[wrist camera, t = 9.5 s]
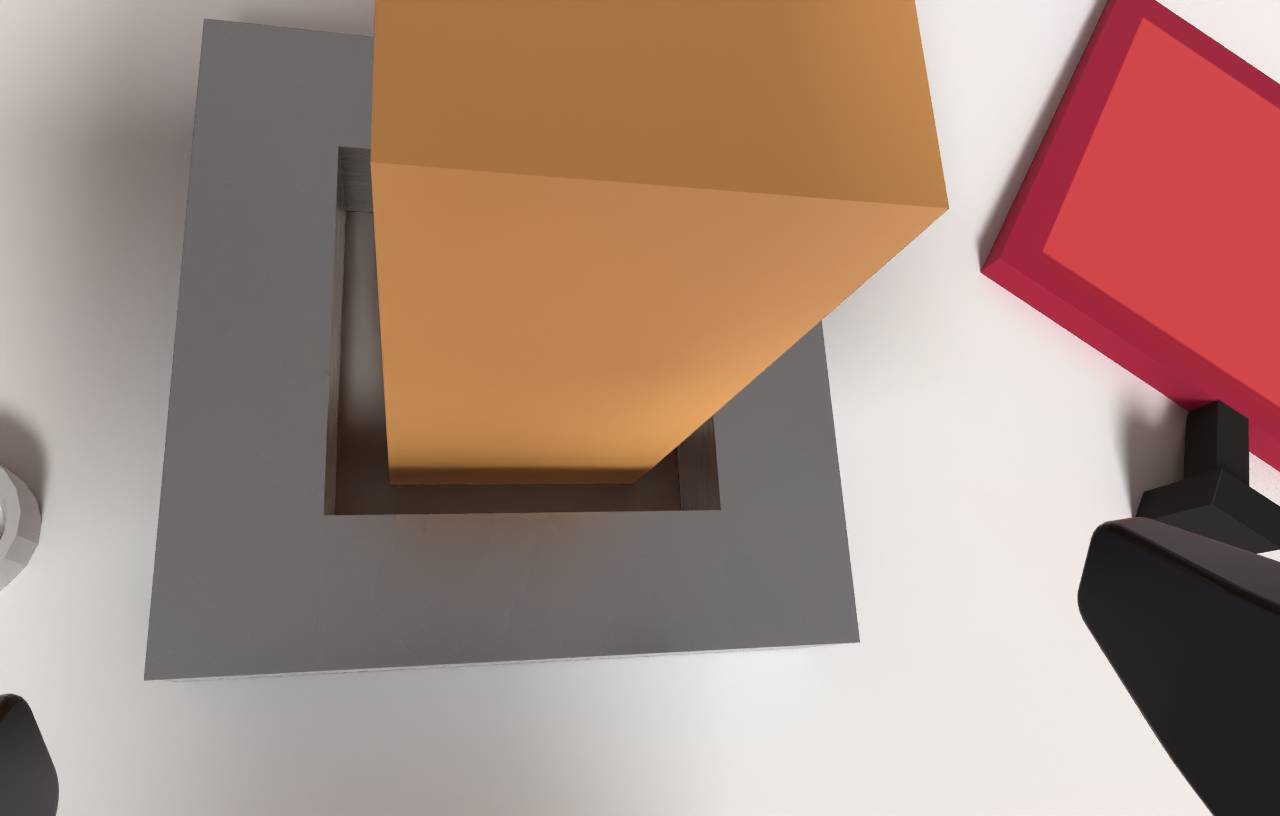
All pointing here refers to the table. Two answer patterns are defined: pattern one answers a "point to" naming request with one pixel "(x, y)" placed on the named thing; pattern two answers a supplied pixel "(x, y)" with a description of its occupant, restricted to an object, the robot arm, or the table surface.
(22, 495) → the adjustable wrench
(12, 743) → the robot arm
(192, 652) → the gray square socket plate
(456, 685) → the table surface
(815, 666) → the table surface
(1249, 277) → the red board with handle
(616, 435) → the tall tan rectangular block
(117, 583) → the table surface
